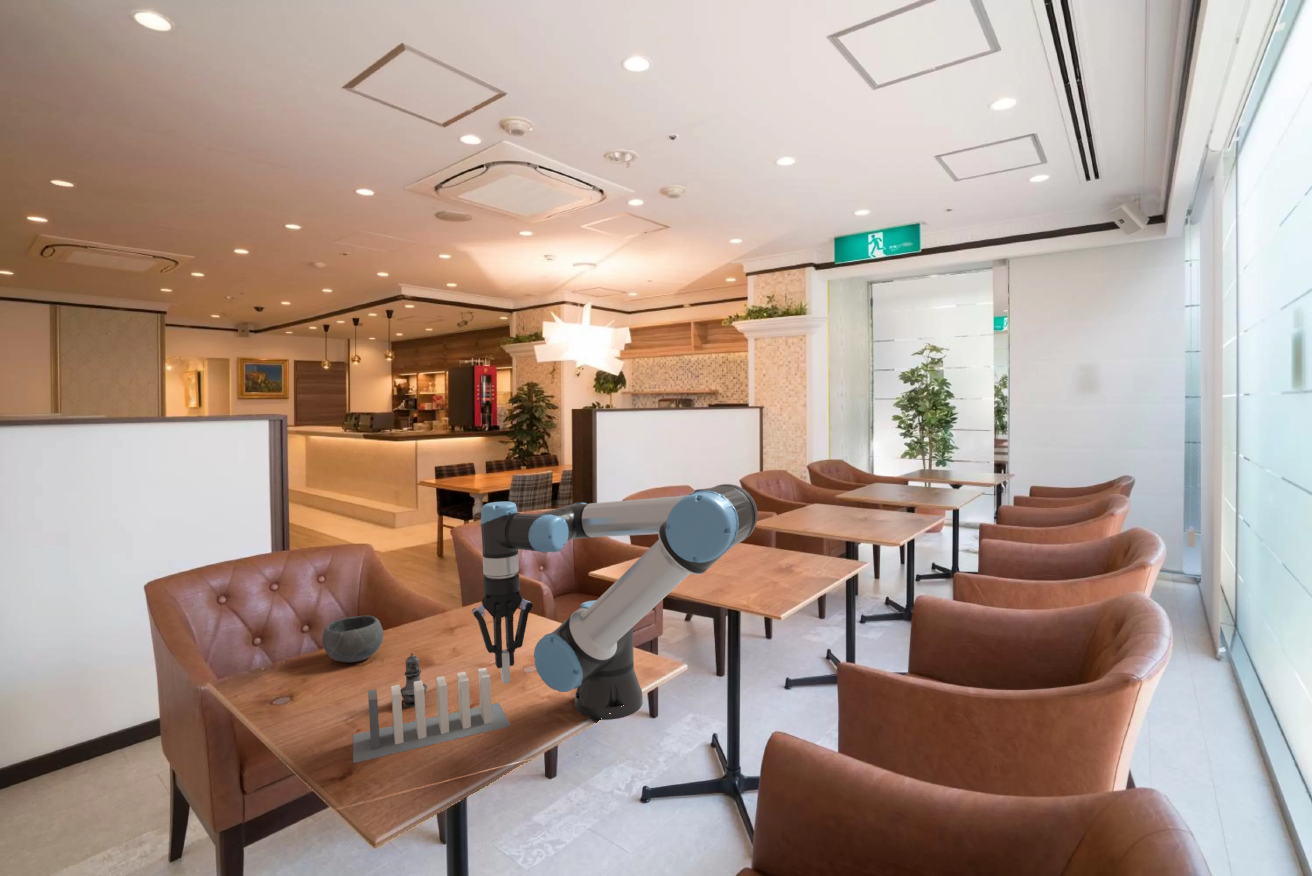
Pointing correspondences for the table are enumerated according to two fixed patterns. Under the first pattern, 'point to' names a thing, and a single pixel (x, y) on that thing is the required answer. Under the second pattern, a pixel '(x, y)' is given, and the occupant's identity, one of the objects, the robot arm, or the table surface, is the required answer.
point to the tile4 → (420, 709)
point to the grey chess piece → (411, 680)
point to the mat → (432, 732)
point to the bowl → (352, 638)
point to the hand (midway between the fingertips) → (505, 680)
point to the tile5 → (397, 714)
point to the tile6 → (373, 719)
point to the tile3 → (442, 704)
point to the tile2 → (464, 700)
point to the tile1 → (485, 695)
